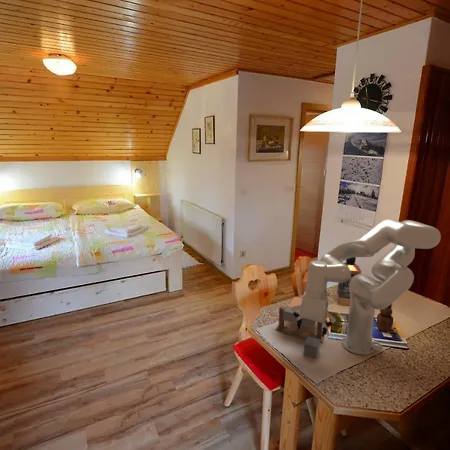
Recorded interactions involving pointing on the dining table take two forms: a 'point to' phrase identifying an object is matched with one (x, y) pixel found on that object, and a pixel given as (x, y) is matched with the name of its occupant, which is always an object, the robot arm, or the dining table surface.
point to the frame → (298, 332)
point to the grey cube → (311, 347)
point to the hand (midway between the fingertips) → (311, 331)
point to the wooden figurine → (385, 319)
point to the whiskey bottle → (347, 283)
